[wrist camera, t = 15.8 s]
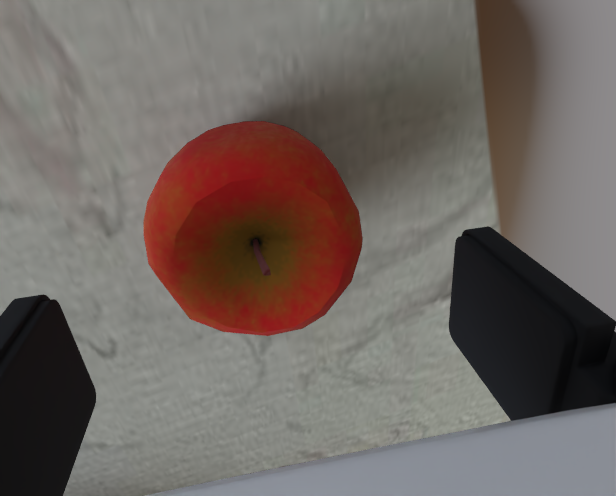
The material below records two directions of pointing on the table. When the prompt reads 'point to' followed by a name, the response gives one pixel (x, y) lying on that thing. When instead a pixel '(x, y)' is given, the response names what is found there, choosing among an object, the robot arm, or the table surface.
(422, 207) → the table surface
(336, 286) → the apple
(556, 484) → the robot arm
